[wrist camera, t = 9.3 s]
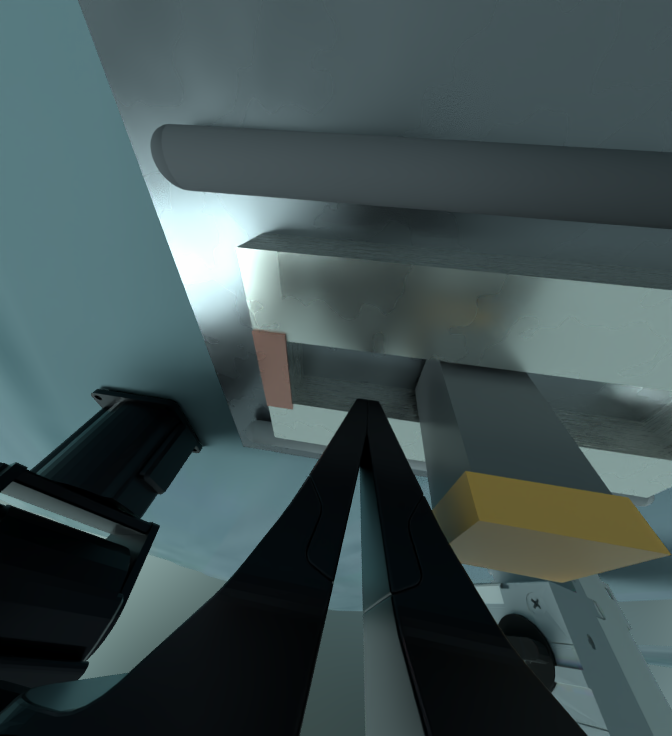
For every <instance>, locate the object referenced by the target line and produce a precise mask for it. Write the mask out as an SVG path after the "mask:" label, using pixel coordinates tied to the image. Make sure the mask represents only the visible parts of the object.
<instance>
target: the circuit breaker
mask: <svg viewBox="0 0 672 736" xmlns="http://www.w3.org/2000/svg"><path fill="white" fill-rule="evenodd" d="M487 569H488V568H487ZM488 572H489V573H490V575H493V578H494V580H491V583H477V584H474V586H475V588H476V589H477V591H478V593H479V594H480V596H481V598H482V599H483V601H484V603H485V604H486V606H487V608H488V609H489V611H490V613H491V614H492V616H493V618H494V619H495V621H496V622H497V624H498V626H499V627H500V629H501V630H502V632H503V633H504V635H505V636H506V638H507V639H508V641H509V642H510V643H511V645H512V646H513V647H514V649H515V650H516V651H517V653H518V654H519V655H520V657H521V658H522V659H523V660H524V662H525V663H526V664H527V665H528V666H529V668H530V669H531V670H532V671H533V672H534V674H535V675H536V676H537V677H538V678H539V679H540V681H541V682H542V683H543V684H544V685H545V686H546V688H547V689H548V690H549V691H550V692H551V693H552V694H553V696H554V697H555V698H556V699H557V700H558V701H559V703H560V704H561V705H562V706H563V707H564V708H565V710H566V711H567V712H568V713H569V714H570V715H571V717H572V718H573V719H574V720H575V721H576V722H577V724H578V725H579V726H580V727H581V728H582V729H583V730H584V732H585V733H586V734H587V735H588V736H672V710H671V708H670V706H669V704H668V702H667V700H666V699H665V697H664V695H663V693H662V691H661V689H660V687H659V685H658V684H657V682H656V680H655V678H654V676H653V674H652V672H651V671H650V669H649V667H648V665H647V663H646V661H645V659H644V657H643V656H642V654H641V652H640V650H639V648H638V646H637V644H636V642H635V641H634V639H633V637H632V635H631V633H630V631H629V630H631V629H632V628H631V626H630V624H629V623H628V621H627V619H626V617H625V615H624V614H623V611H622V610H621V608H620V606H619V604H618V602H617V600H616V598H615V597H614V595H613V593H612V591H611V589H610V587H609V586H608V584H606V583H604V582H602V581H601V579H600V578H599V576H598V574H595V575H591V576H587V577H583V578H579V579H575V580H571V581H567V582H563V583H560V582H555V581H550V580H544V579H539V578H534V577H529V576H524V575H519V574H514V573H508V572H503V571H498V570H493V569H488ZM606 590H607V592H608V593H607V592H606ZM608 594H609V595H608ZM609 596H610V597H611V598H610V597H609Z"/></svg>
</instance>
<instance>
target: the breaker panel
mask: <svg viewBox="0 0 672 736" xmlns="http://www.w3.org/2000/svg"><path fill="white" fill-rule="evenodd" d="M78 1H79V4H80V7H81V9H82V12H83V15H84V17H85V20H86V23H87V26H88V28H89V31H90V34H91V36H92V39H93V42H94V44H95V47H96V50H97V53H98V55H99V58H100V61H101V63H102V66H103V69H104V71H105V74H106V77H107V80H108V82H109V85H110V88H111V90H112V93H113V96H114V98H115V101H116V104H117V106H118V109H119V112H120V115H121V117H122V120H123V123H124V125H125V128H126V131H127V133H128V136H129V139H130V142H131V144H132V147H133V150H134V152H135V155H136V158H137V160H138V163H139V166H140V169H141V171H142V174H143V177H144V179H145V182H146V185H147V187H148V190H149V193H150V195H151V198H152V201H153V204H154V206H155V209H156V212H157V214H158V217H159V220H160V222H161V225H162V228H163V231H164V233H165V236H166V239H167V241H168V244H169V247H170V249H171V252H172V255H173V257H174V260H175V263H176V266H177V268H178V271H179V274H180V276H181V279H182V282H183V284H184V287H185V290H186V293H187V295H188V298H189V301H190V303H191V306H192V309H193V311H194V314H195V317H196V320H197V322H198V325H199V328H200V330H201V333H202V336H203V338H204V341H205V344H206V346H207V349H208V352H209V355H210V357H211V360H212V363H213V365H214V368H215V371H216V373H217V376H218V379H219V382H220V384H221V387H222V390H223V392H224V395H225V398H226V400H227V403H228V406H229V409H230V411H231V414H232V417H233V419H234V422H235V425H236V427H237V430H238V433H239V435H240V438H241V441H242V444H243V446H244V447H250V448H256V449H262V450H268V451H274V452H279V453H285V454H291V455H297V456H303V457H309V458H315V459H319V458H320V457H321V455H322V454H320V453H314V452H308V451H302V450H296V449H289V448H283V447H277V446H271V445H265V444H259V443H254V442H251V441H250V440H249V439H248V438H247V436H246V429H247V427H248V425H249V424H250V423H251V422H253V421H255V420H262V421H268V422H272V426H273V431H274V436H275V437H276V438H283V439H289V440H295V441H301V442H307V443H313V444H319V445H326V446H327V445H328V444H329V442H330V441H331V439H332V437H333V436H334V434H335V433H336V431H337V429H338V428H339V426H340V425H341V423H342V421H343V420H344V418H345V417H346V415H347V413H348V412H349V410H350V409H351V407H352V406H353V404H354V402H355V401H356V399H357V398H362V399H367V400H376V401H379V402H380V404H381V406H382V408H383V410H384V412H385V415H386V417H387V419H388V421H389V423H390V425H391V427H392V429H393V431H394V433H395V435H396V437H397V440H398V442H399V444H400V446H401V448H402V450H403V452H404V454H405V456H406V458H407V459H412V460H418V461H424V462H425V455H424V449H423V442H422V435H421V428H420V421H419V415H418V408H417V401H416V394H415V388H416V386H417V383H418V380H419V378H420V375H421V372H422V370H423V367H424V365H425V362H426V359H428V360H435V361H443V362H451V363H459V364H466V365H474V366H482V367H490V368H497V369H505V370H513V371H521V372H526V373H527V374H528V376H529V377H530V379H531V380H532V381H533V383H534V384H535V386H536V387H537V389H538V390H539V391H540V393H541V394H542V396H543V397H544V398H545V400H546V401H547V403H548V404H549V406H550V407H551V408H552V410H553V411H554V413H555V414H556V415H557V417H558V418H559V420H560V421H561V422H562V424H563V425H564V427H565V428H566V430H567V431H568V432H569V434H570V435H571V437H572V438H573V439H574V441H575V442H576V444H577V445H578V447H579V448H580V449H581V451H582V452H583V454H584V455H585V456H586V458H587V459H588V461H589V462H590V464H591V465H592V466H593V468H594V469H595V471H596V472H597V473H598V475H599V476H600V478H601V479H602V481H603V482H604V483H605V485H606V486H607V488H608V489H609V490H610V492H614V493H621V494H627V495H633V496H639V497H645V498H648V497H650V496H652V495H654V494H657V493H659V492H661V491H663V490H666V489H668V488H670V487H672V229H660V228H648V227H635V226H623V225H610V224H598V223H585V222H573V221H560V220H548V219H535V218H523V217H510V216H498V215H485V214H473V213H461V212H448V211H436V210H423V209H411V208H398V207H386V206H373V205H361V204H348V203H336V202H323V201H311V200H298V199H286V198H273V197H261V196H248V195H236V194H223V193H211V192H198V191H188V190H183V189H181V188H178V187H176V186H174V185H173V184H172V183H170V182H169V181H168V180H167V179H166V178H165V177H164V176H163V175H162V174H161V173H160V171H159V170H158V168H157V167H156V165H155V163H154V160H153V158H152V154H151V148H150V142H151V138H152V135H153V133H154V131H155V130H156V129H157V128H158V127H160V126H162V125H164V124H181V125H199V126H217V127H234V128H252V129H270V130H287V131H305V132H322V133H340V134H358V135H375V136H393V137H411V138H428V139H446V140H463V141H481V142H499V143H516V144H534V145H552V146H569V147H587V148H604V149H622V150H640V151H657V152H672V0H78ZM412 471H413V473H414V475H417V476H423V477H428V476H427V471H422V470H416V469H412Z"/></svg>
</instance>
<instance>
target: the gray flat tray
mask: <svg viewBox="0 0 672 736" xmlns="http://www.w3.org/2000/svg"><path fill="white" fill-rule="evenodd" d="M150 148H151V154H152V158H153V160H154V163H155V165H156V167H157V168H158V170H159V171H160V173H161V174H162V175H163V176H164V177H165V178H166V179H167V180H168V181H169V182H170V183H172V184H173V185H174V186H176V187H178V188H181V189H183V190H188V191H198V192H211V193H223V194H236V195H248V196H261V197H273V198H286V199H298V200H311V201H323V202H336V203H348V204H361V205H373V206H386V207H398V208H411V209H423V210H436V211H448V212H461V213H473V214H485V215H498V216H510V217H523V218H535V219H548V220H560V221H573V222H585V223H598V224H610V225H623V226H635V227H648V228H660V229H672V152H657V151H640V150H622V149H604V148H587V147H569V146H552V145H534V144H516V143H499V142H481V141H463V140H446V139H428V138H411V137H393V136H375V135H358V134H340V133H322V132H305V131H287V130H270V129H252V128H234V127H217V126H199V125H181V124H164V125H162V126H160V127H158V128H157V129H156V130H155V131H154V133H153V135H152V138H151V142H150ZM246 436H247V438H248V439H249V440H250V441H251V442H254V443H259V444H265V445H271V446H277V447H283V448H289V449H296V450H302V451H308V452H314V453H320V454H322V453H323V452H324V450H325V449H326V447H327V446H326V445H319V444H313V443H307V442H301V441H295V440H289V439H283V438H276V437H275V436H274V431H273V426H272V422H268V421H262V420H255V421H253V422H251V423H250V424H249V425H248V427H247V429H246ZM407 460H408V462H409V465H410V467H411V469H416V470H422V471H427V469H426V462H424V461H418V460H412V459H407ZM611 493H612V495H616V496H622V497H628V498H629V499H630V500H631V501H632V503H633V504H634V505H635V506H648V505H650V504H652V503H653V501H654V495H652V496H650V497H648V498H645V497H639V496H633V495H627V494H621V493H614V492H611Z"/></svg>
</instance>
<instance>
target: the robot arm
mask: <svg viewBox="0 0 672 736" xmlns="http://www.w3.org/2000/svg"><path fill="white" fill-rule="evenodd" d="M91 396H92V397H93V398H94V399H95V400H96V402H97V403H98V404H99V405H100V406H101V407H102V408H103V409H101V410H100V411H99V412H98V413H97V414H96V415H94V416H93V417H92V418H91V419H90V420H89V421H87V422H86V423H85V424H84V425H83V426H82V427H80V428H79V429H78V430H77V431H76V432H75V433H73V434H72V435H71V436H70V437H69V438H68V439H66V440H65V441H64V442H63V443H62V444H61V445H59V446H58V447H57V448H56V449H55V450H54V451H52V452H51V453H50V454H49V455H48V456H47V457H45V458H44V459H43V460H42V461H41V462H40V463H38V464H37V465H36V466H35V467H34V468H33V469H31V470H30V471H29V470H27V468H28V467H26V466H23V465H21V464H19V463H17V462H15V463H13V464H10V465H8V464H5V463H1V462H0V493H3V494H6V495H8V496H11V497H14V498H16V499H19V500H22V501H24V502H27V503H30V504H32V505H35V506H38V507H40V508H43V509H46V510H48V511H51V512H54V513H56V514H59V515H62V516H64V517H67V518H70V519H72V520H75V521H78V522H81V523H83V524H86V525H89V526H91V527H94V528H97V529H99V530H102V531H105V532H107V533H110V535H109V536H108V538H107V539H103V538H100V537H97V536H95V535H92V534H89V533H86V532H84V531H81V530H78V529H75V528H72V527H70V526H67V525H64V524H61V523H58V522H55V521H53V520H50V519H47V518H44V517H42V516H39V515H36V514H33V513H30V512H27V511H25V510H22V509H19V508H16V507H14V506H11V505H6V506H5V505H2V504H0V736H300V732H301V727H302V723H303V718H304V714H305V709H306V705H307V700H308V696H309V691H310V687H311V682H312V678H313V673H314V669H315V664H316V659H317V655H318V651H319V646H320V642H321V637H322V633H323V628H324V624H325V619H326V615H327V611H328V606H329V602H330V597H331V593H332V588H333V584H334V579H335V575H336V570H337V566H338V561H339V557H340V552H341V548H342V543H343V539H344V534H345V530H346V525H347V521H348V516H349V512H350V508H351V503H352V499H353V494H354V490H355V485H356V481H357V476H358V472H359V467H360V501H361V547H362V594H363V642H364V688H365V730H366V731H365V734H366V736H588V735H587V734H586V733H585V732H584V730H583V729H582V728H581V727H580V726H579V725H578V724H577V722H576V721H575V720H574V719H573V718H572V717H571V715H570V714H569V713H568V712H567V711H566V710H565V708H564V707H563V706H562V705H561V704H560V703H559V701H558V700H557V699H556V698H555V697H554V696H553V694H552V693H551V692H550V691H549V690H548V689H547V688H546V686H545V685H544V684H543V683H542V682H541V681H540V679H539V678H538V677H537V676H536V675H535V674H534V672H533V671H532V670H531V669H530V668H529V666H528V665H527V664H526V663H525V662H524V660H523V659H522V658H521V657H520V655H519V654H518V653H517V651H516V650H515V649H514V647H513V646H512V645H511V643H510V642H509V641H508V639H507V638H506V636H505V635H504V633H503V632H502V630H501V629H500V627H499V626H498V624H497V622H496V621H495V619H494V618H493V616H492V614H491V613H490V611H489V609H488V608H487V606H486V604H485V603H484V601H483V599H482V598H481V596H480V594H479V593H478V591H477V589H476V588H475V586H474V584H473V583H472V581H471V579H470V578H469V576H468V574H467V573H466V571H465V569H464V568H463V566H462V564H461V563H460V561H459V559H458V558H457V556H456V554H455V552H454V551H453V549H452V547H451V545H450V544H449V542H448V540H447V538H446V537H445V535H444V533H443V531H442V530H441V528H440V526H439V524H438V522H437V520H436V518H435V516H434V514H433V512H432V510H431V508H430V506H429V504H428V502H427V500H426V498H425V496H423V492H422V490H421V487H420V485H419V483H418V481H417V479H416V477H415V475H414V473H413V471H412V469H411V467H410V465H409V462H408V460H407V458H406V456H405V454H404V452H403V450H402V448H401V446H400V444H399V442H398V440H397V437H396V435H395V433H394V431H393V429H392V427H391V425H390V423H389V421H388V419H387V417H386V415H385V412H384V410H383V408H382V406H381V404H380V402H379V401H376V400H367V399H362V398H357V399H356V401H355V402H354V404H353V406H352V407H351V409H350V410H349V412H348V413H347V415H346V417H345V418H344V420H343V421H342V423H341V425H340V426H339V428H338V429H337V431H336V433H335V434H334V436H333V437H332V439H331V441H330V442H329V444H328V445H327V447H326V449H325V450H324V452H323V453H322V455H321V457H320V458H319V460H318V461H317V463H316V465H315V466H314V468H313V469H312V471H311V473H310V474H309V476H308V477H307V479H306V480H305V482H304V484H303V485H302V487H301V488H300V490H299V491H298V493H297V494H296V496H295V497H294V499H293V500H292V502H291V503H290V504H289V506H288V507H287V508H286V510H285V511H284V512H283V514H282V515H281V516H280V518H279V519H278V520H277V522H276V523H275V524H274V525H273V527H272V528H271V529H270V530H269V532H268V533H267V534H266V535H265V537H264V538H263V539H262V540H261V542H260V543H259V544H258V545H257V547H256V548H255V549H254V550H253V552H252V553H251V554H250V555H249V557H248V558H247V559H246V560H245V562H244V563H243V564H242V565H241V566H240V568H239V569H238V570H237V571H236V572H235V573H234V575H233V576H232V577H231V578H230V579H229V580H228V581H227V582H226V583H225V584H224V586H223V587H222V588H221V589H220V590H219V591H218V592H217V593H216V594H215V595H214V596H213V597H212V598H210V599H209V600H208V601H207V602H206V603H205V604H204V605H203V606H202V607H200V608H199V609H198V610H197V611H196V612H195V613H194V614H193V615H192V616H191V617H189V619H187V620H186V621H185V622H184V623H183V624H182V625H181V626H180V627H178V628H177V629H176V630H175V631H174V632H173V633H172V634H171V635H170V636H169V637H168V638H166V639H165V640H164V641H163V642H162V643H161V644H160V645H159V646H158V647H156V648H155V649H154V650H153V651H152V652H151V653H150V654H149V655H148V656H147V657H146V658H144V659H143V660H142V661H141V662H140V663H139V664H138V665H137V666H136V667H135V668H134V669H132V670H131V671H130V672H129V673H124V674H117V675H110V676H104V677H97V678H90V679H83V680H78V679H79V678H80V677H81V676H82V675H83V674H84V673H85V671H86V669H87V667H88V665H89V662H88V661H86V660H88V658H89V657H90V656H91V655H92V654H93V653H94V652H95V651H96V650H97V649H98V648H99V646H100V645H101V644H102V643H103V641H104V640H105V638H106V637H107V636H108V634H109V633H110V631H111V630H112V629H113V627H114V625H115V623H116V622H117V620H118V618H119V617H120V615H121V612H122V611H123V609H124V606H125V604H126V602H127V600H128V598H129V595H130V593H131V591H132V588H133V586H134V584H135V582H136V579H137V577H138V575H139V573H140V571H141V568H142V566H143V564H144V561H145V559H146V556H147V555H148V552H149V550H150V548H151V546H152V543H153V541H154V539H155V536H156V534H157V532H158V530H159V527H160V525H157V524H155V523H153V522H146V521H144V520H142V519H140V518H141V517H142V516H143V515H144V513H145V512H146V510H147V509H148V507H149V506H150V504H151V503H152V502H153V500H154V499H155V497H156V496H157V494H163V493H164V492H165V491H166V490H167V488H168V487H169V485H170V484H171V482H172V481H173V479H174V478H175V477H176V475H177V474H178V472H179V471H180V469H181V468H182V466H183V465H184V463H185V462H186V460H187V459H188V457H189V456H190V454H191V453H192V452H193V453H199V452H200V451H201V449H202V446H201V444H200V442H199V440H198V439H197V437H196V435H195V434H194V432H193V430H192V428H191V427H190V425H189V423H188V421H187V420H186V418H185V416H184V415H183V413H182V411H181V409H180V408H179V406H178V405H177V404H176V403H175V402H173V401H171V400H166V399H159V398H153V397H146V396H140V395H134V394H127V393H121V392H114V391H108V390H101V389H97V390H95V391H94V392H93V393H91Z"/></svg>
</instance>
